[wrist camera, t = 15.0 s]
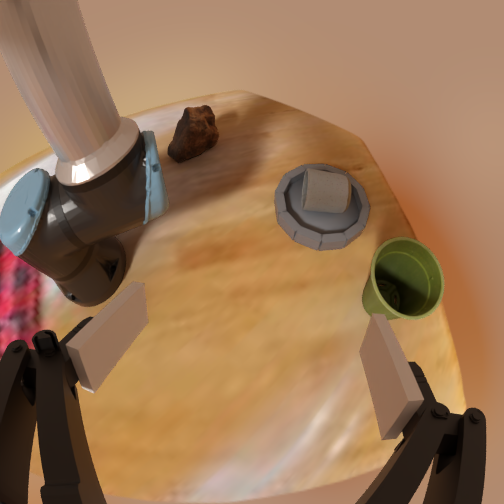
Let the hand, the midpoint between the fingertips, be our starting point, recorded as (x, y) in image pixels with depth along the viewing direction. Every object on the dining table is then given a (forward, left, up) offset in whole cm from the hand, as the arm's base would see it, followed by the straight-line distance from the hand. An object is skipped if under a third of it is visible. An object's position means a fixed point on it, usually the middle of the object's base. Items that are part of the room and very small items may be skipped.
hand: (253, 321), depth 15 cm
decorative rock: (-43, +13, -28) cm, 53 cm away
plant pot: (+5, +21, -28) cm, 35 cm away
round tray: (-15, +24, -27) cm, 39 cm away
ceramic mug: (-16, +25, -27) cm, 40 cm away
